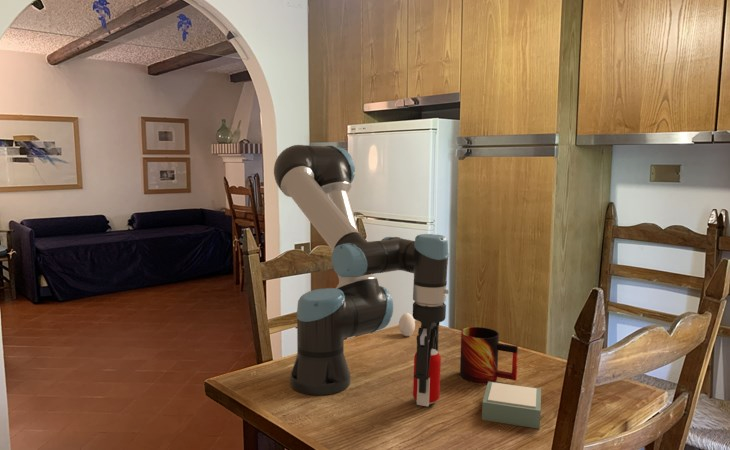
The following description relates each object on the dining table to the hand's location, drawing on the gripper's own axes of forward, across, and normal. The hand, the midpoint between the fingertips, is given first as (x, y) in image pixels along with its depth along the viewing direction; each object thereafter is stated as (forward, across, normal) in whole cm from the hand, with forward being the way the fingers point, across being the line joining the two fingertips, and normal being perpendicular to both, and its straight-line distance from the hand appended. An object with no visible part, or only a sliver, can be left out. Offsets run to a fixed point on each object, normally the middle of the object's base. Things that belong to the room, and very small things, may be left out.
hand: (426, 398), depth 124 cm
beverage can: (+1, 0, 0) cm, 1 cm away
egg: (+2, +47, +17) cm, 50 cm away
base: (+1, +2, -19) cm, 19 cm away
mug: (+1, +21, -12) cm, 24 cm away
